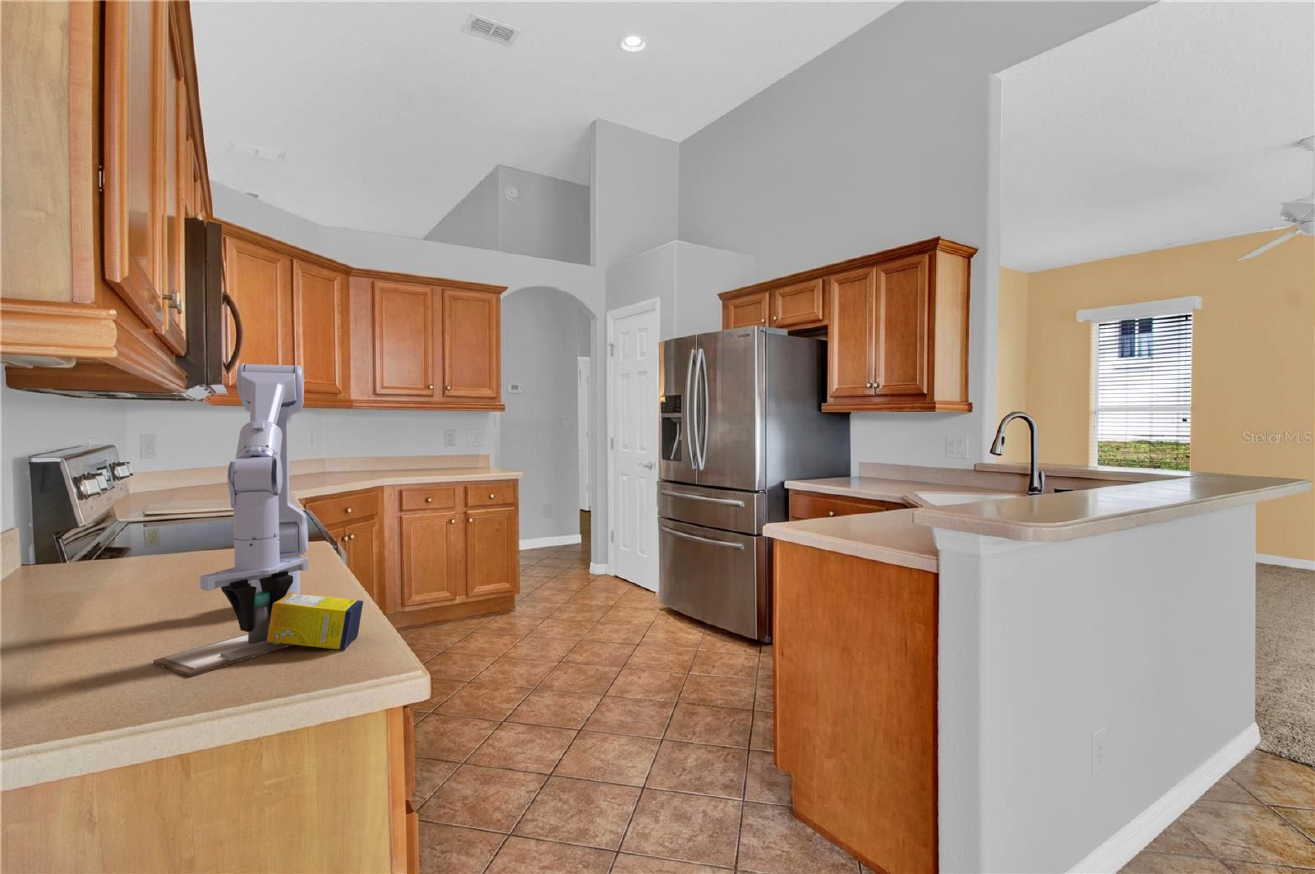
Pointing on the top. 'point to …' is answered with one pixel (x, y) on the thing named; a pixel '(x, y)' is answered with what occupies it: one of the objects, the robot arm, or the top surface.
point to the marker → (260, 617)
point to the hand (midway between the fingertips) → (258, 627)
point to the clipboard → (216, 655)
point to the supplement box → (315, 621)
